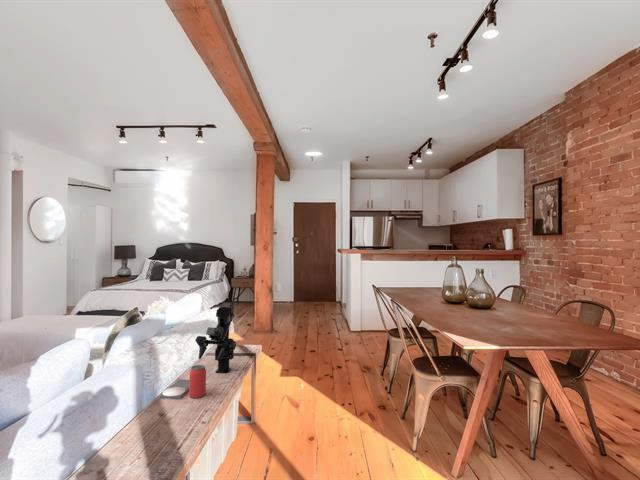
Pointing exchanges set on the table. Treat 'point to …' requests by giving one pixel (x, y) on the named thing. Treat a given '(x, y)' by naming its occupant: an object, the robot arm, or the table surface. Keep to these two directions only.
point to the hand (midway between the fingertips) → (208, 359)
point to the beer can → (197, 381)
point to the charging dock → (176, 390)
